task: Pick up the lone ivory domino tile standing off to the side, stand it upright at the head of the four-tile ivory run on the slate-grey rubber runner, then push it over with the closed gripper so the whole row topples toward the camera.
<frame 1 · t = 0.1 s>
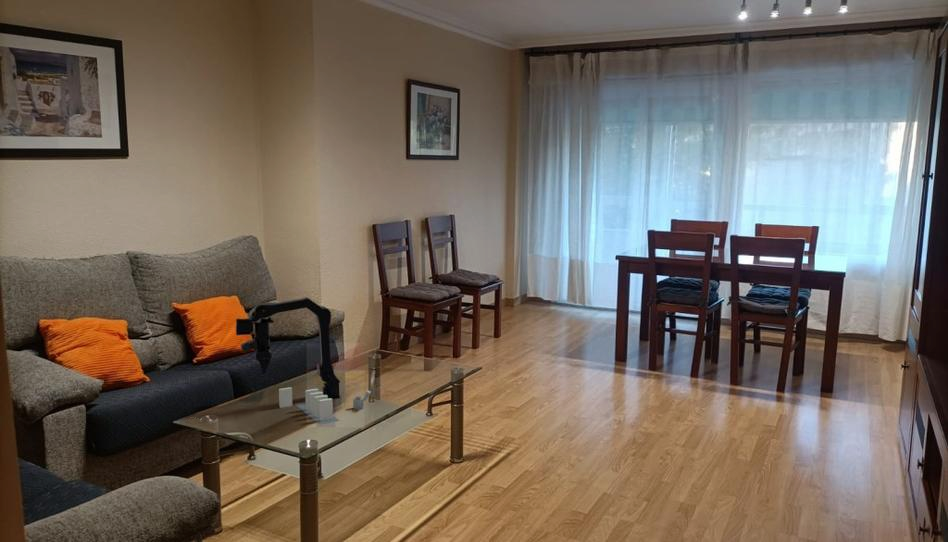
hand: (263, 370, 293), 15 cm above the table, fingers open, 9 cm apart
tile 1: (312, 408, 288), resting on runner
lighter: (362, 409, 290), on the table
tile 2: (316, 412, 284), resting on runner
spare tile: (285, 407, 291), on the table
tile 3: (321, 415, 280), resting on runner
runner: (316, 412, 284), on the table
tile 4: (325, 419, 275), resting on runner
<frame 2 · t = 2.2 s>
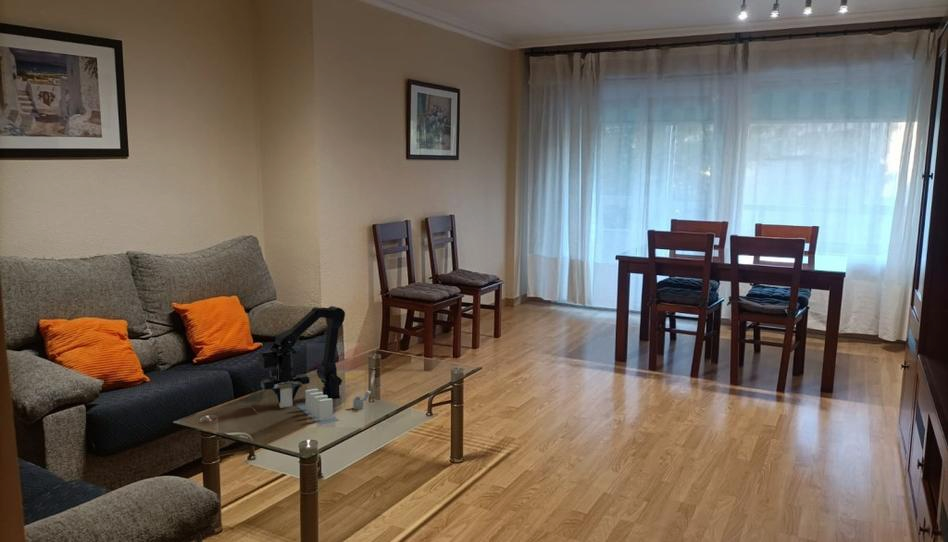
hand: (285, 402, 291), 2 cm above the table, fingers closed on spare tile, 5 cm apart
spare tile: (285, 407, 291), on the table, touching gripper
everything else where it was.
when the fingers open (4 cm above the table, at t = 5.9 s): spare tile stays where it is, resting on runner.
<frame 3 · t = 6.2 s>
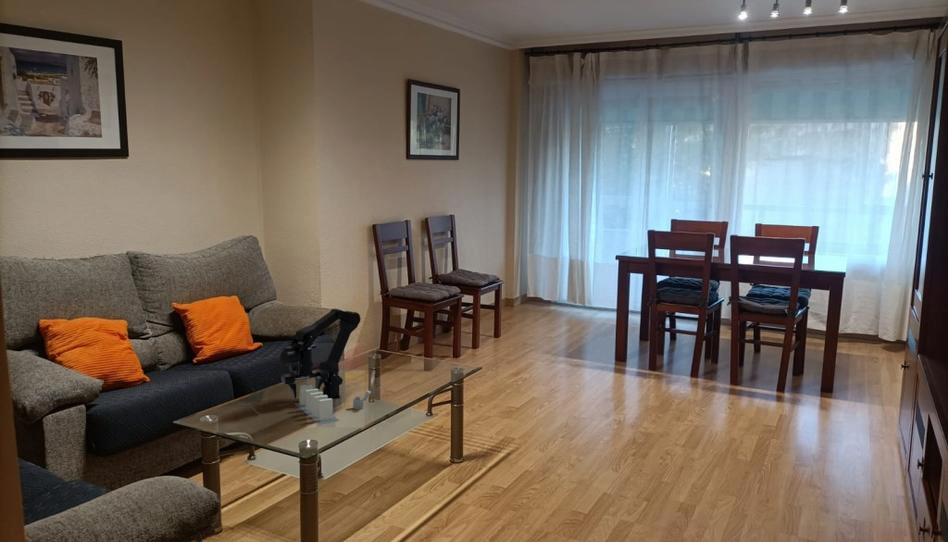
hand: (305, 396, 294), 4 cm above the table, fingers open, 9 cm apart
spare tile: (306, 404, 294), resting on runner
everything else where it was.
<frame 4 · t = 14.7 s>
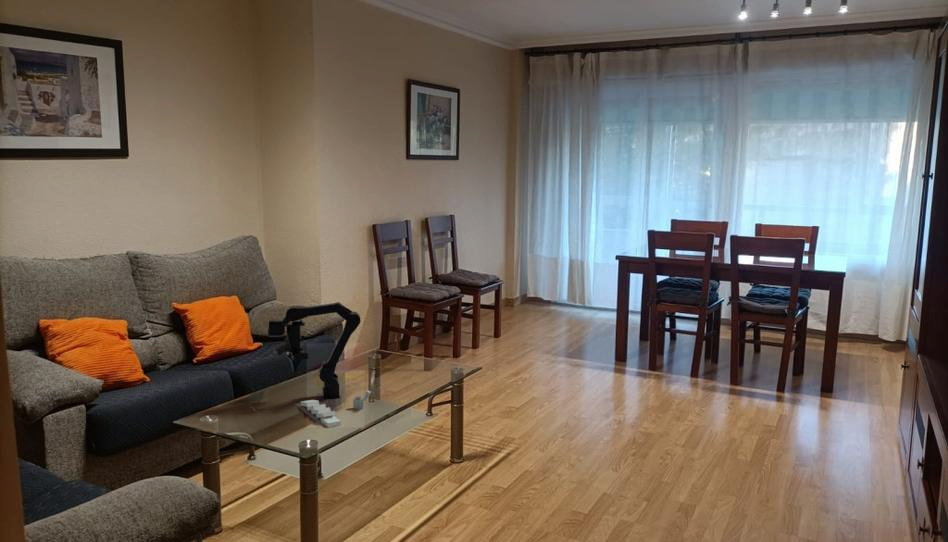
hand: (294, 371, 301), 12 cm above the table, fingers closed
tile 1: (313, 407, 287), point 1 cm above the table, tilted 72°, touching runner, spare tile, tile 2
tile 2: (317, 411, 283), point 1 cm above the table, tilted 72°, touching runner, tile 1, tile 3
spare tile: (306, 402, 294), point 1 cm above the table, tilted 78°, touching runner, tile 1
tile 3: (322, 414, 278), point 1 cm above the table, tilted 71°, touching runner, tile 2, tile 4
tile 4: (326, 418, 274), point 1 cm above the table, tilted 90°, touching runner, tile 3
everything else where it was.
at the end: tile 4 tilted 90°; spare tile tilted 78°; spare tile inside the target area (0.7 cm from its centre), point 1.2 cm above the table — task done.
